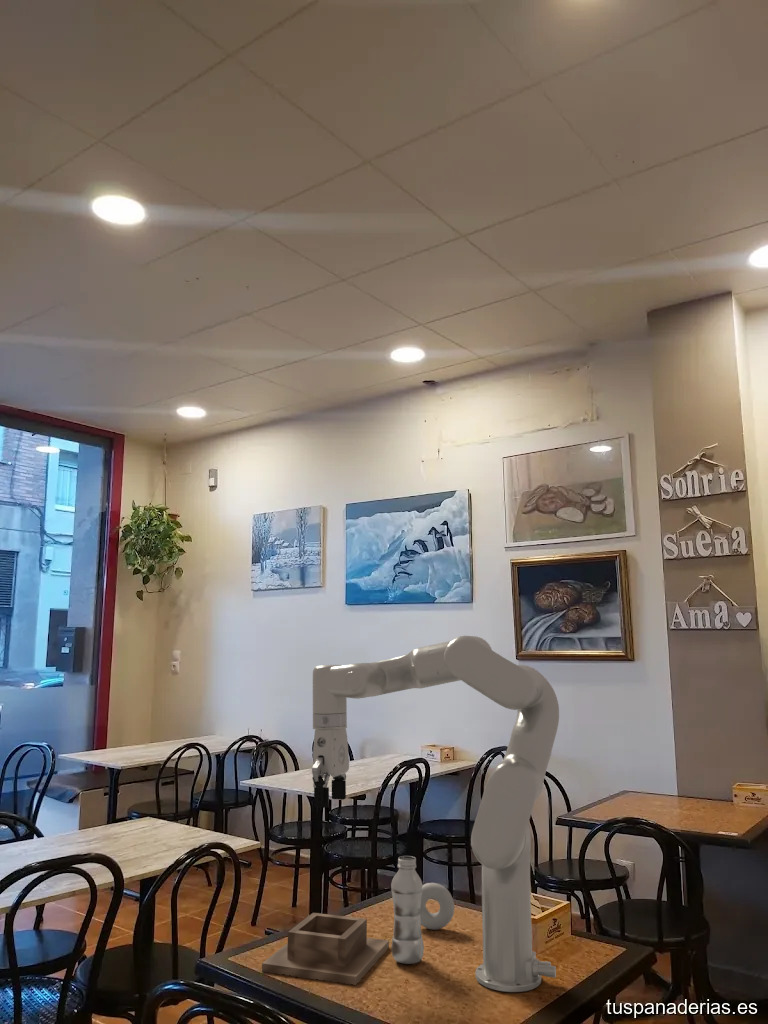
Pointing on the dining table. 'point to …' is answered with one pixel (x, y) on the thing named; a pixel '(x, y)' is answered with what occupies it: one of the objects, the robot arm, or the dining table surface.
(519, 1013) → the dining table surface
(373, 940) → the bottle stand
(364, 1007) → the dining table surface
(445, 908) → the donut
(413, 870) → the plastic bottle
